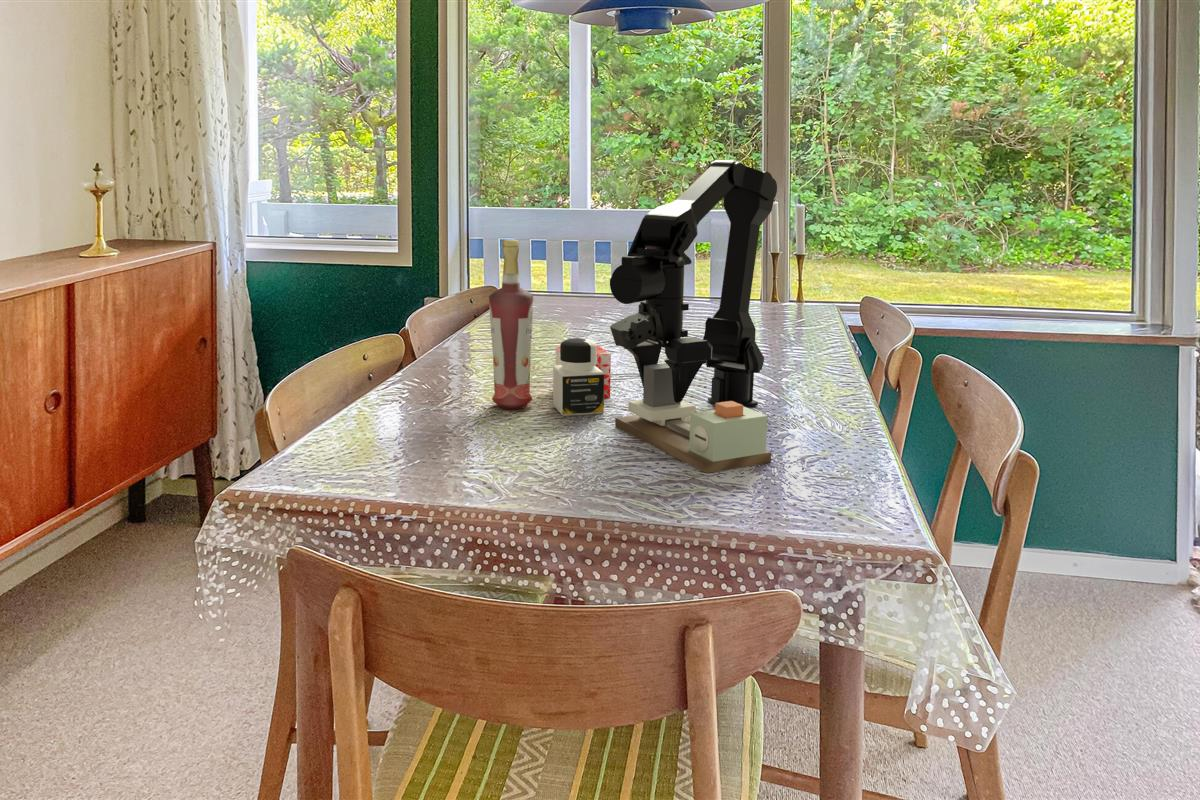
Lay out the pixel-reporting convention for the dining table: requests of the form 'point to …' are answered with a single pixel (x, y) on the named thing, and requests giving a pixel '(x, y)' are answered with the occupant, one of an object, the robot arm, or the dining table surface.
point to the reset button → (728, 409)
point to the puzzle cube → (598, 366)
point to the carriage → (659, 397)
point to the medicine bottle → (578, 379)
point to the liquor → (511, 334)
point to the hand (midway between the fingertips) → (662, 395)
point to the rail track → (681, 443)
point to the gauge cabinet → (727, 435)
